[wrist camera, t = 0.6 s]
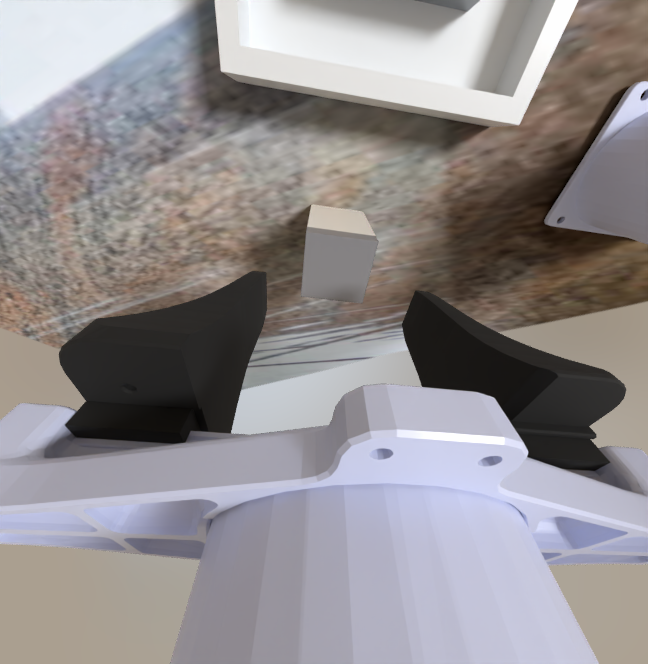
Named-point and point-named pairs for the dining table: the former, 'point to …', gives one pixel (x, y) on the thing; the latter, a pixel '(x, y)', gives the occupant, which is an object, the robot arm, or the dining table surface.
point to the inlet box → (397, 52)
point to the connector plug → (337, 254)
